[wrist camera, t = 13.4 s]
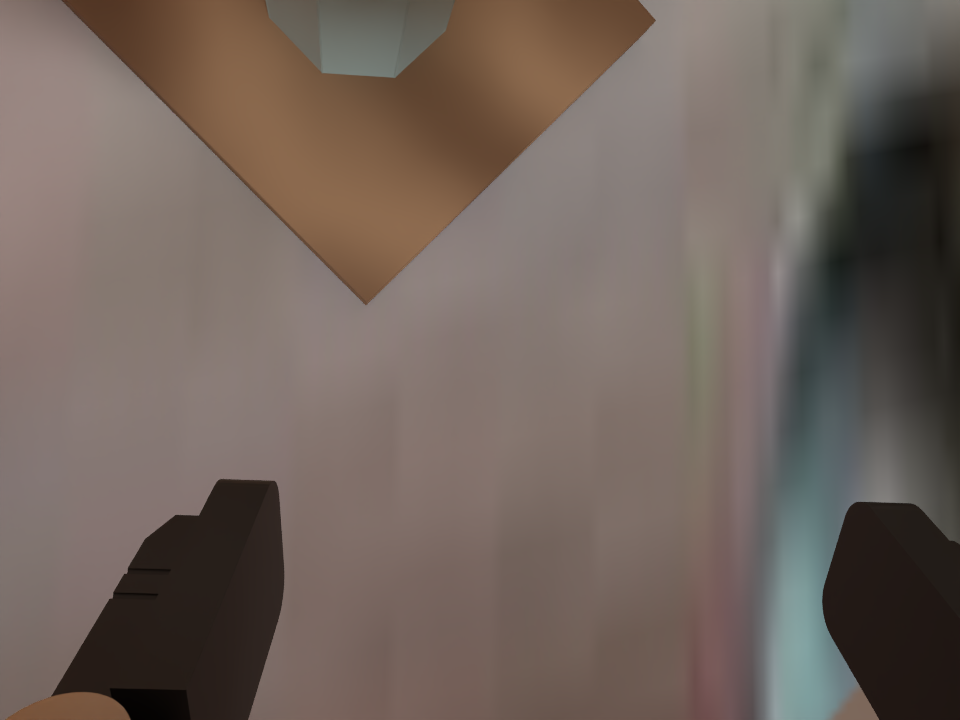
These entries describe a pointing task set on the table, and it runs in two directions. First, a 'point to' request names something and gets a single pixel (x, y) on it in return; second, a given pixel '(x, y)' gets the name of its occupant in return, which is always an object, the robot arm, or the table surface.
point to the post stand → (368, 111)
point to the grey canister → (361, 32)
